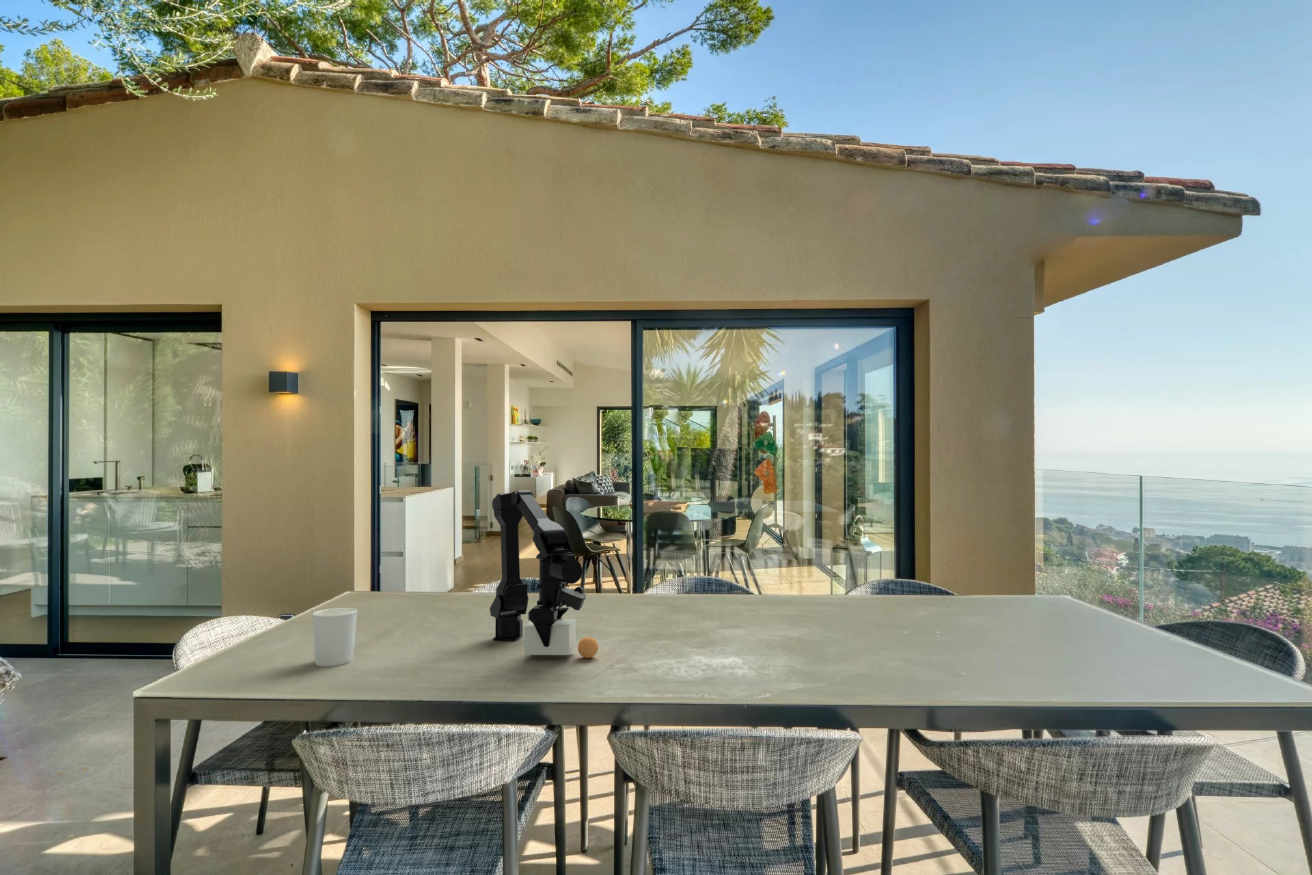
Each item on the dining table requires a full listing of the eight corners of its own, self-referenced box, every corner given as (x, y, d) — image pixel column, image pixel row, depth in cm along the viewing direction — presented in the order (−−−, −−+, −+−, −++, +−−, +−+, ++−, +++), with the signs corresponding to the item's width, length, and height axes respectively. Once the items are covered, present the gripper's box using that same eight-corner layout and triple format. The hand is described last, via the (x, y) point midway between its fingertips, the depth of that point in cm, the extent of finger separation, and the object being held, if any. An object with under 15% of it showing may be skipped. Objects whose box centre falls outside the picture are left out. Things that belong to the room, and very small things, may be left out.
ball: (590, 636, 156) (599, 655, 156) (595, 631, 161) (603, 649, 161) (572, 644, 157) (580, 663, 156) (577, 638, 162) (585, 657, 161)
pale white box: (524, 654, 157) (524, 626, 157) (533, 646, 164) (533, 619, 164) (569, 654, 155) (568, 626, 156) (575, 646, 163) (575, 619, 163)
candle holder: (301, 665, 153) (302, 614, 154) (333, 654, 163) (334, 606, 163) (335, 669, 151) (336, 617, 151) (365, 657, 160) (366, 608, 161)
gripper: (574, 585, 151) (574, 653, 150) (590, 573, 169) (590, 633, 168) (527, 585, 152) (527, 652, 151) (548, 572, 170) (548, 632, 169)
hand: (550, 642), depth 160 cm, fingers closed on pale white box, 7 cm apart
